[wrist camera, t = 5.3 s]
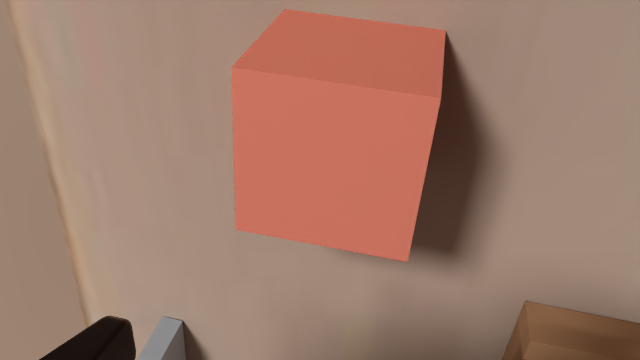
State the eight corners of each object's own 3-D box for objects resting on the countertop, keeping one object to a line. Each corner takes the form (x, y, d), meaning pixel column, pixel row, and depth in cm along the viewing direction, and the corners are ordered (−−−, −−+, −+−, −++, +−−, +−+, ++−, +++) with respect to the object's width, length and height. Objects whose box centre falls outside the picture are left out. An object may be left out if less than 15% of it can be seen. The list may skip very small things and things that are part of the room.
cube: (445, 29, 17) (441, 97, 13) (418, 168, 20) (407, 262, 15) (285, 8, 17) (231, 67, 13) (280, 145, 20) (235, 229, 16)
